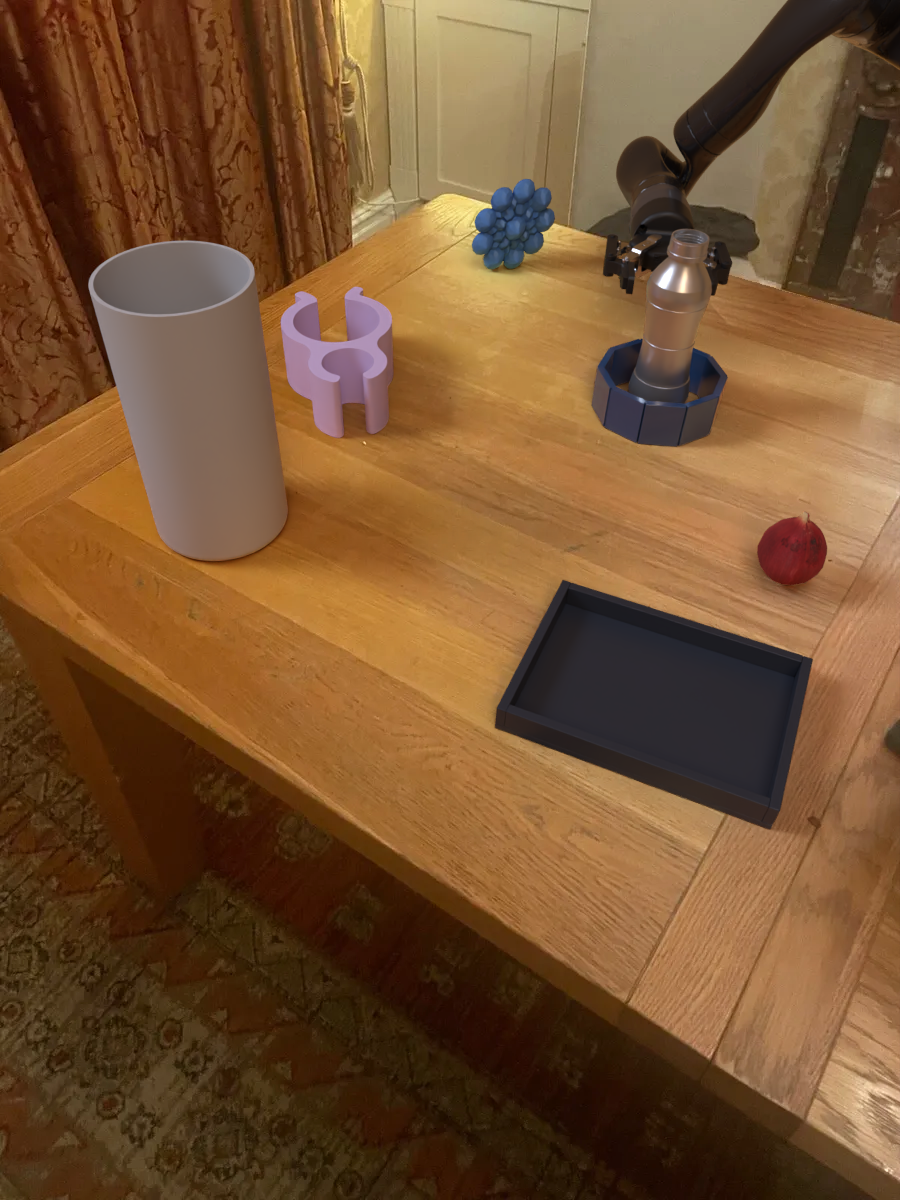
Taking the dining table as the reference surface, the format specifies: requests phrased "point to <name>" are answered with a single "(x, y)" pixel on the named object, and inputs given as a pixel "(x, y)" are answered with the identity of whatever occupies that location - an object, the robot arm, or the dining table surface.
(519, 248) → the grapes
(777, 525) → the onion
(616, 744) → the tray
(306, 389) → the clip
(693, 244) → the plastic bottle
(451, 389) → the dining table surface
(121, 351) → the cylinder vase
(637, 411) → the blue faceted ring
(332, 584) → the dining table surface
